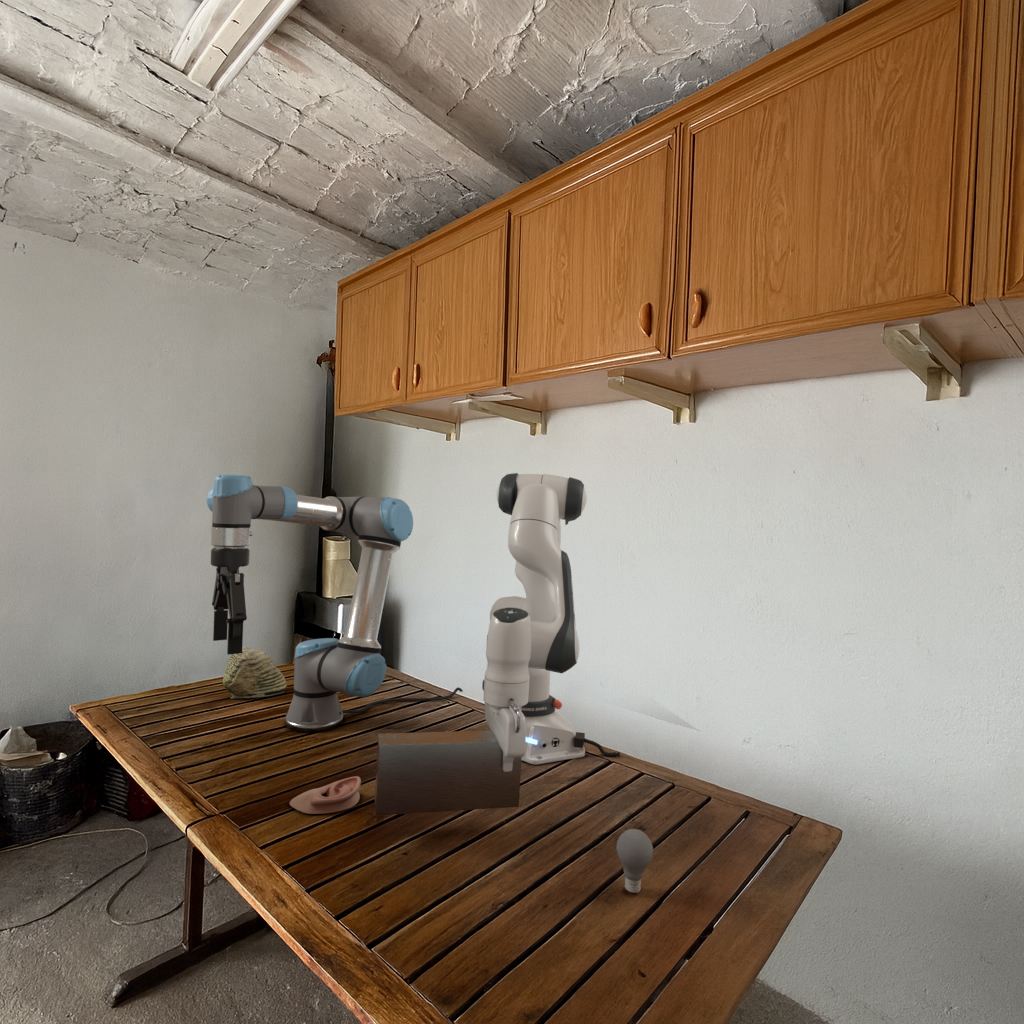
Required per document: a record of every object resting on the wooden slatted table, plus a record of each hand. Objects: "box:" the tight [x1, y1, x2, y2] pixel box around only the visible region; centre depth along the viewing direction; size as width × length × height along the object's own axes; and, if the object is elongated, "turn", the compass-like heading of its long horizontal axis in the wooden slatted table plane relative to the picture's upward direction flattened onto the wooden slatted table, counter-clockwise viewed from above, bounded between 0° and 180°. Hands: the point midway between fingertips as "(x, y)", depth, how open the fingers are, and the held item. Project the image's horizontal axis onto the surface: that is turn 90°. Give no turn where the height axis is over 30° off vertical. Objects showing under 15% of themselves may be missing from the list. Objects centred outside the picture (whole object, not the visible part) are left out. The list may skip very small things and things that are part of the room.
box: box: [374, 729, 522, 816], centre depth 122 cm, size 27×6×13 cm, turn 104°
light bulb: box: [615, 828, 654, 894], centre depth 106 cm, size 6×6×10 cm
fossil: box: [222, 646, 288, 699], centre depth 198 cm, size 9×18×15 cm, turn 132°
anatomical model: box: [289, 775, 362, 815], centre depth 131 cm, size 13×4×12 cm
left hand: (227, 646), depth 135 cm, fingers open, 13 cm apart
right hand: (502, 762), depth 125 cm, fingers closed on box, 6 cm apart
